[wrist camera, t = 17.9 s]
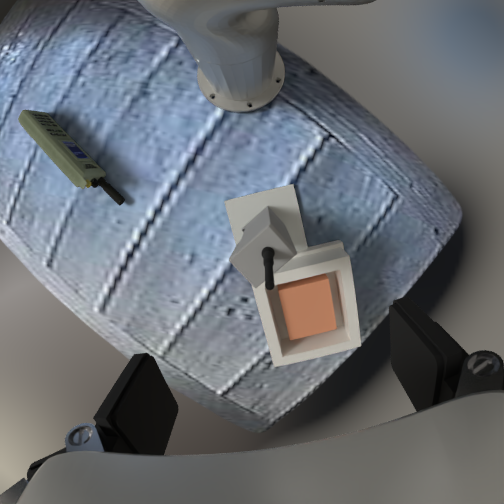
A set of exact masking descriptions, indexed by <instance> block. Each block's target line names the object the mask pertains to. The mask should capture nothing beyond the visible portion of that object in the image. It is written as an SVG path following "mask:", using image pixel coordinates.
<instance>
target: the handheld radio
mask: <svg viewBox="0 0 504 504" xmlns="http://www.w3.org/2000/svg"><path fill="white" fill-rule="evenodd" d="M18 120H19V122H20V124H21V125H22V127H23V128H24V129H25V130H26V131H27V133H28V134H29V135H30V136H31V137H32V138H33V139H34V140H35V141H36V143H37V144H38V145H39V146H40V147H41V148H42V150H43V151H44V152H45V153H46V154H47V155H48V156H49V157H50V159H51V160H52V161H53V162H54V163H55V164H56V165H57V166H58V167H59V169H60V170H61V171H62V172H63V173H64V174H65V175H66V176H67V177H68V178H69V179H70V180H71V181H72V183H73V184H74V185H75V186H76V187H81V188H82V189H84V188H85V186H86V187H87V188H89V187H90V186H92V187H94V188H96V187H97V186H98V185H99V186H101V187H102V188H103V190H104V191H105V192H106V193H107V194H108V195H109V196H110V197H111V198H112V199H113V200H114V201H115V202H116V203H117V204H118V205H121V204H123V202H124V201H125V199H124V198H123V197H122V196H121V195H120V194H119V193H118V192H117V191H116V190H115V189H114V188H113V187H112V186H111V185H110V184H109V183H107V182H106V181H105V179H104V177H105V176H106V173H105V171H104V170H102V169H101V168H100V167H99V166H98V165H97V164H96V163H95V162H94V161H93V160H92V158H91V157H90V156H89V155H88V154H87V153H86V152H85V151H84V150H83V149H82V148H81V147H80V146H79V145H78V144H77V143H76V142H75V141H74V140H73V139H72V138H71V137H70V136H69V135H68V134H67V133H66V132H65V131H64V130H63V129H62V128H61V127H60V126H59V125H58V124H57V123H56V122H55V121H54V120H53V119H52V118H51V117H50V116H49V115H48V114H47V113H45V112H38V111H31V110H23V111H22V112H21V114H20V116H19V118H18Z"/></svg>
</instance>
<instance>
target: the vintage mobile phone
mask: <svg viewBox="0 0 504 504" xmlns="http://www.w3.org/2000/svg"><path fill="white" fill-rule="evenodd" d="M241 230H242V231H243V232H244V233H243V236H242V239H241V240H240V241H239V243H238V244H237V245H236V247H235V249H234V251H233V253H232V255H231V256H230V258H229V261H230V262H231V263H232V264H233V265H234V266H235V267H236V269H237V270H238V271H239V272H240V273H241V274H242V275H243V276H244V277H245V278H246V279H247V280H248V281H249V282H250V283H251V284H252V285H253V286H254V287H255V288H257V287H258V286H260V285H261V284H262V283H263V282H264V281H265V288H266V289H267V290H272V289H273V288H274V287H275V284H274V273H275V272H276V271H278V270H279V269H280V268H281V267H282V266H284V265H285V264H286V263H287V262H288V261H290V260H291V259H292V258H293V257H294V256H295V255H297V251H296V249H295V246H294V244H293V242H292V240H291V237H290V235H289V233H288V230H287V228H286V226H285V224H284V223H283V222H282V221H281V220H280V219H279V217H278V216H277V215H276V214H275V213H274V212H273V211H272V210H271V208H270V207H269V206H267V207H265V208H264V209H263V210H262V211H261V212H260V213H259V214H257V215H256V216H255V217H254V218H253V219H252V220H251V221H250V222H248V223H247V224H246V225H245V226H244V227H243V228H242V229H241Z"/></svg>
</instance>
